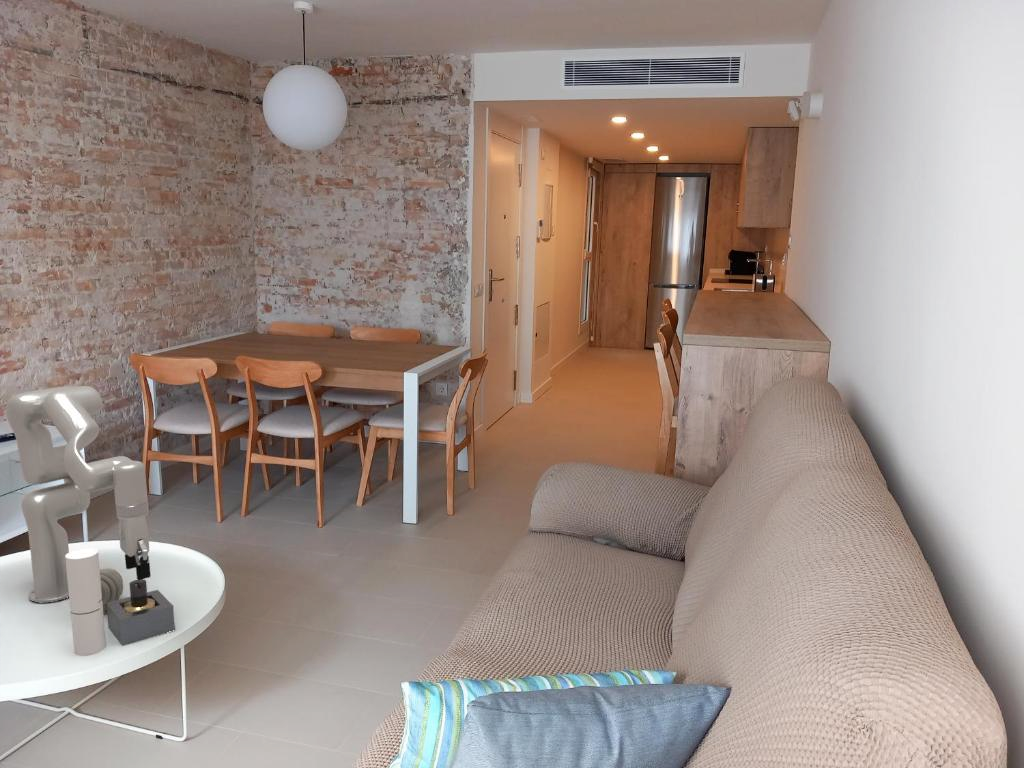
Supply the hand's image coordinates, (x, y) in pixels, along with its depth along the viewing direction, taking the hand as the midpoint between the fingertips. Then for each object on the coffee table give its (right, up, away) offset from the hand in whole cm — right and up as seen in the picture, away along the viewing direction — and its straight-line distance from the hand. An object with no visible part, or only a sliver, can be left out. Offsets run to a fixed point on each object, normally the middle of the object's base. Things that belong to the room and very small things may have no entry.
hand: (138, 573), depth 213 cm
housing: (0, -15, +3) cm, 16 cm away
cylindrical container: (-9, -17, -7) cm, 21 cm away
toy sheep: (-16, -14, +16) cm, 26 cm away
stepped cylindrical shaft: (0, -14, +3) cm, 15 cm away
